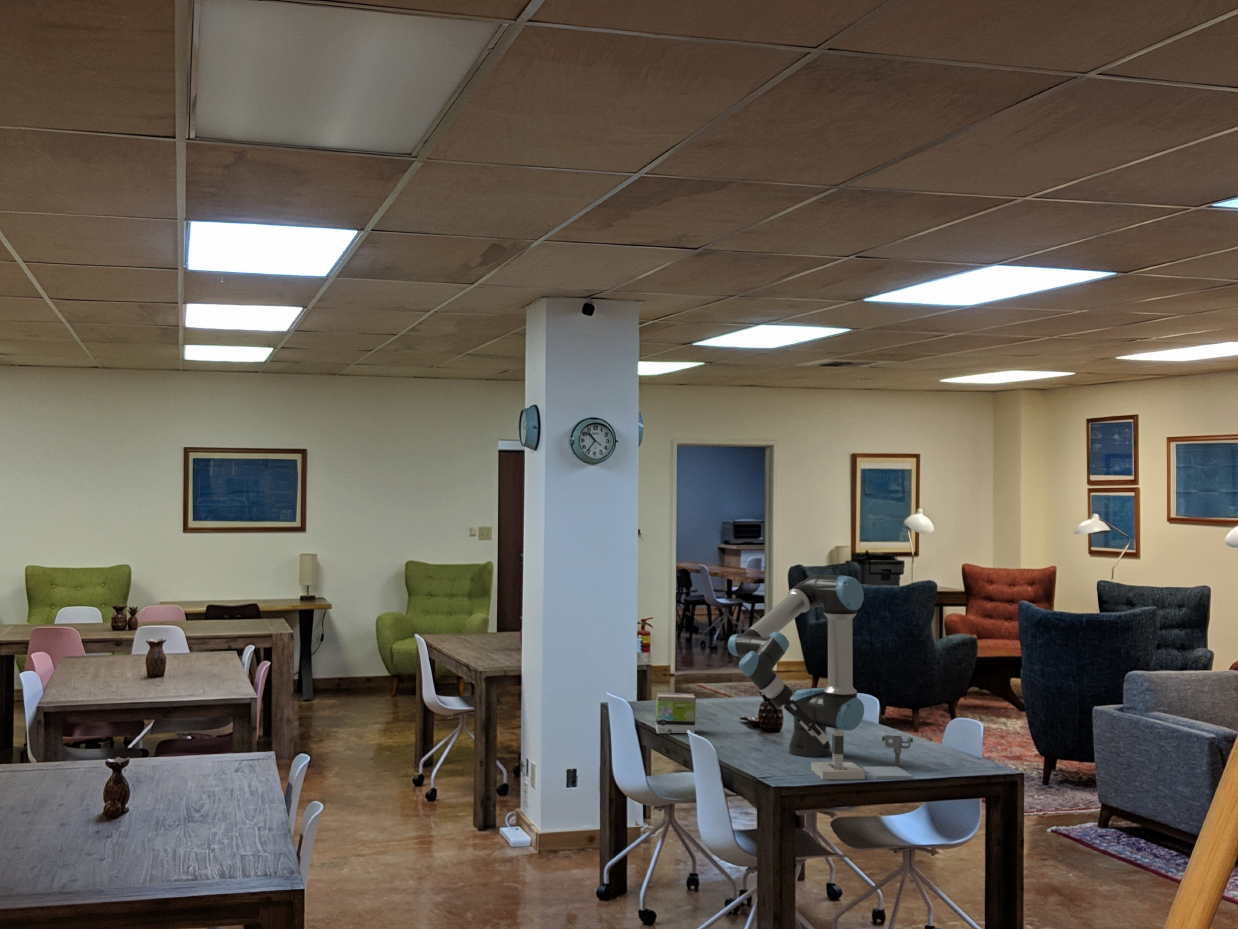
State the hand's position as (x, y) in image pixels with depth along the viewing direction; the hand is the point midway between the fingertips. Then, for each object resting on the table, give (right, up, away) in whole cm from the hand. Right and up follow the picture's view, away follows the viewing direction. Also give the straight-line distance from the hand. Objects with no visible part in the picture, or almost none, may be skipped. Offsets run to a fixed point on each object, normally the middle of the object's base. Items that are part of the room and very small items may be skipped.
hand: (820, 737), depth 384 cm
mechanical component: (+29, -14, +16) cm, 36 cm away
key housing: (+6, -13, +1) cm, 14 cm away
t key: (+6, -13, +1) cm, 14 cm away
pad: (+23, -13, +2) cm, 26 cm away
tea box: (-45, -15, +72) cm, 86 cm away
